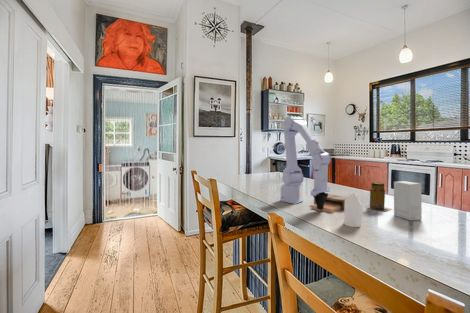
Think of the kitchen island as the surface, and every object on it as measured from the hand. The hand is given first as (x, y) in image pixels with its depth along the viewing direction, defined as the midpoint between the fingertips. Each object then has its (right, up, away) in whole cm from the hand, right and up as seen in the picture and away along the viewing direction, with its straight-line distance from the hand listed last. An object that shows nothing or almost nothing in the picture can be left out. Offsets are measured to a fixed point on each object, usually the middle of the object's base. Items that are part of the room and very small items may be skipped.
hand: (320, 209), depth 111 cm
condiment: (+29, -1, +4) cm, 29 cm away
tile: (+6, -1, +5) cm, 8 cm away
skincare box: (+33, -2, -9) cm, 34 cm away
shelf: (+9, 0, +9) cm, 13 cm away
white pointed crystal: (+6, -2, -18) cm, 19 cm away
